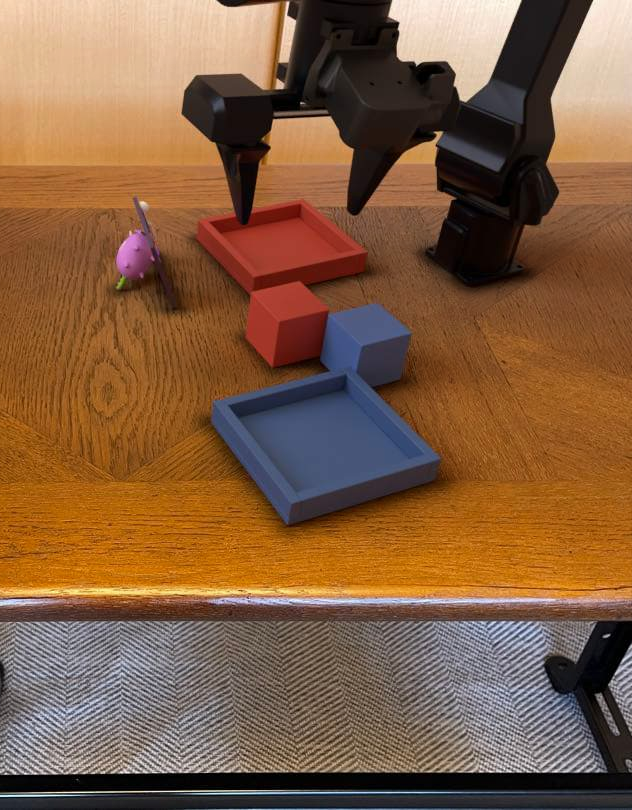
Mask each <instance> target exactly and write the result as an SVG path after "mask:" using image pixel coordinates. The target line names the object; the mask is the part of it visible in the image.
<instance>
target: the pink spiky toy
mask: <svg viewBox="0 0 632 810" xmlns="http://www.w3.org/2000/svg"><path fill="white" fill-rule="evenodd" d="M132 201H133V203H134V207H135V210H136V213H137V215H138V219H139V221H140V224H141V227H142V228H141V229H138V228H137V229H134V232H136V233H133V232H132V231H131V230H129V234H128V235H129V236H128V237H127V238H126V239H125V240H124V241H123V242H122V244H121V245H120V246H119V249H118V251H117V255H116V263H115V264H116V269H117V271H118V272H119V274H120V275H121V278H120V279H119V282H117V286H116V287H115V289H116V290H117V291H121V290H122V288H123V287H124V286H125V284H126V283H127V282H128V280H130V281H131V280H132V281H133V280H137V279H139V278H141V279H144V273H146V271H147V270H148V269H149V267H150V266H151V265H152V263H153V262H154V263H155V265H156V268H157V271H158V274H159V276H160V279H161V281H162V284H163V287H164V290H165V292H166V295H167V298H168V301H169V303H170V306H171V309H172V310H174V309H177V305H176V303H175V300H174V297H173V296H174V295H173V294H172V291H171V287H170V286H169V283H168V280H167V277H166V275H165V272H164V269H163V266H162V264H163V262H162V260H161V258H160V257H159V255H160V249H159V246H158V244H157V242H158V239H157V236H156V233H155V230H154V227H153V224H152V222H151V220H150V219H149V220H147V219H148V218H147V217H148V216H147V215H148V213H149V212H150V206H149V204H148V202H146V201H143V200H141V201H139V200H138V197H137V196H134V197H132Z"/></svg>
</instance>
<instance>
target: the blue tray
mask: <svg viewBox="0 0 632 810" xmlns="http://www.w3.org/2000/svg"><path fill="white" fill-rule="evenodd" d="M210 423H211V425H212V426H213V427H214V429H215V430H216V431H217V433H218V435H219V436H221V438H222V440H223V441H224V442H225V443H226V445H227V446H228V448H229V449H230V450H231V452H232V453H233V454H234V456H235V458H237V460H238V461H239V462H240V464H241V465H242V466H243V468H244V469H245V471H247V473H248V475H249V476H250V477H251V478H252V480H253V481H254V482H255V484H256V485H257V486H258V488H259V489H260V491H261V492H262V493H263V495H264V496H265V498H266V499H267V500H268V502H269V503H270V504H271V506H272V507H273V508H274V509H275V511H276V512H277V514H278V515H279V517H281V519H282V520H283V521H284V523H285V524H286V525H287V526H291V525H294V524H297V523H301V522H304V521H308V520H312V519H315V518H318V517H321V516H324V515H327V514H330V513H333V512H336V511H340V510H343V509H346V508H350V507H354V506H356V505H360V504H363V503H366V502H370V501H372V500H373V501H374V500H376V499H379V498H382V497H386V496H389V495H392V494H396V493H399V492H402V491H406V490H409V489H412V488H416V487H418V486H422V485H425V484H429V483H432V482H435V480H436V478H437V474H438V471H439V469H440V465H441V462H442V457H441V456H440V455H439V454H438V453H437V452H436V451H435V450H434V449H433V448H432V447H431V446H430V445H428V443H427V442H426V441H425V440H424V439H423V438H422V437H421V436H420V435H419V434H418V432H416V431H415V430H414V429H413V428H412V427H411V426H410V425H409V424H408V423H407V422H406V421H405V420H404V419H403V418H402V417H401V416H400V415H399V414H398V413H397V411H395V410H394V409H393V408H392V407H391V406H390V405H389V404H388V403H387V402H386V401H385V400H384V399H383V398H382V397H381V396H380V395H379V394H378V393H377V392H376V391H375V390H374V389H373V387H370V386H369V385H368V384H367V383H366V382H365V381H364V380H363V379H362V378H361V377H360V376H359V375H358V374H357V373H356V372H355V371H354V370H353V369H352V368H351V367H350V366H349V367H345V368H342V369H337V370H334V371H326V372H322V373H319V374H315V375H311V376H307V377H303V378H299V379H296V380H291V381H288V382H283V383H280V384H276V385H272V386H267V387H263V388H261V389H257V390H252V391H249V392H245V393H244V392H243V393H241V394H238V395H233V396H229V397H226V398H221V399H216V400H213V401H212V410H211V421H210Z"/></svg>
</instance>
